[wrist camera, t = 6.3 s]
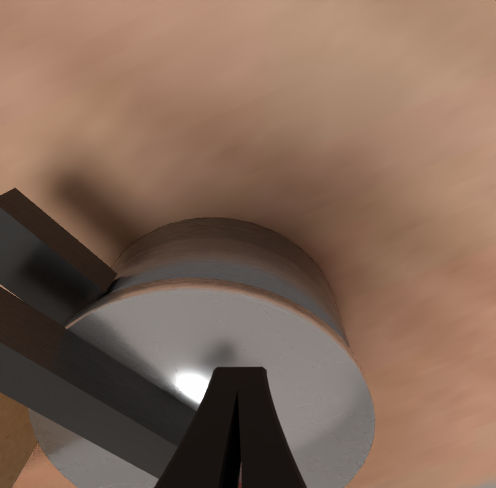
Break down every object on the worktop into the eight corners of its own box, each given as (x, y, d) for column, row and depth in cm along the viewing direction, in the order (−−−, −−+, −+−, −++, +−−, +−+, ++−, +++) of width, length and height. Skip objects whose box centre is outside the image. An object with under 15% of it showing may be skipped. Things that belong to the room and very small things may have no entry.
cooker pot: (382, 336, 22) (423, 425, 17) (214, 436, 26) (203, 532, 21) (144, 75, 16) (87, 83, 11) (-24, 260, 20) (-124, 331, 15)
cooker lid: (436, 414, 16) (469, 479, 14) (220, 539, 21) (215, 604, 19) (105, 138, 11) (61, 160, 9) (-78, 385, 16) (-140, 444, 14)
